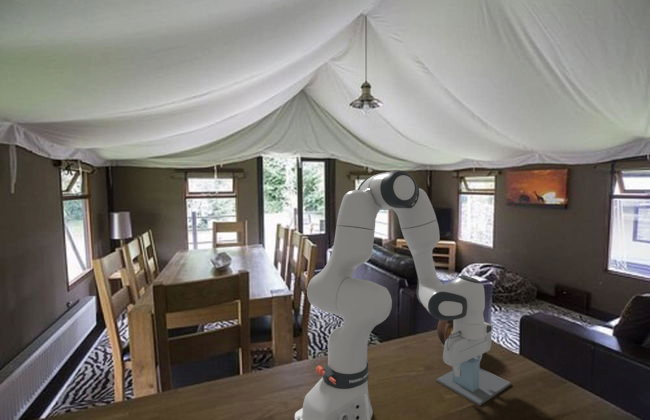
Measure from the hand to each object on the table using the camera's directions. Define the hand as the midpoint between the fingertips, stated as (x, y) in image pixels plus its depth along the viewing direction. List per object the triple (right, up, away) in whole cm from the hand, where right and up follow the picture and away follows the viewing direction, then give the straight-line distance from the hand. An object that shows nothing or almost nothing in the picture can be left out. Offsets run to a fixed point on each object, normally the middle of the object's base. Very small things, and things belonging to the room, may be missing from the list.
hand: (466, 370), depth 105 cm
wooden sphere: (+7, -4, +25) cm, 26 cm away
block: (0, -5, +1) cm, 5 cm away
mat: (+4, -6, +4) cm, 8 cm away
